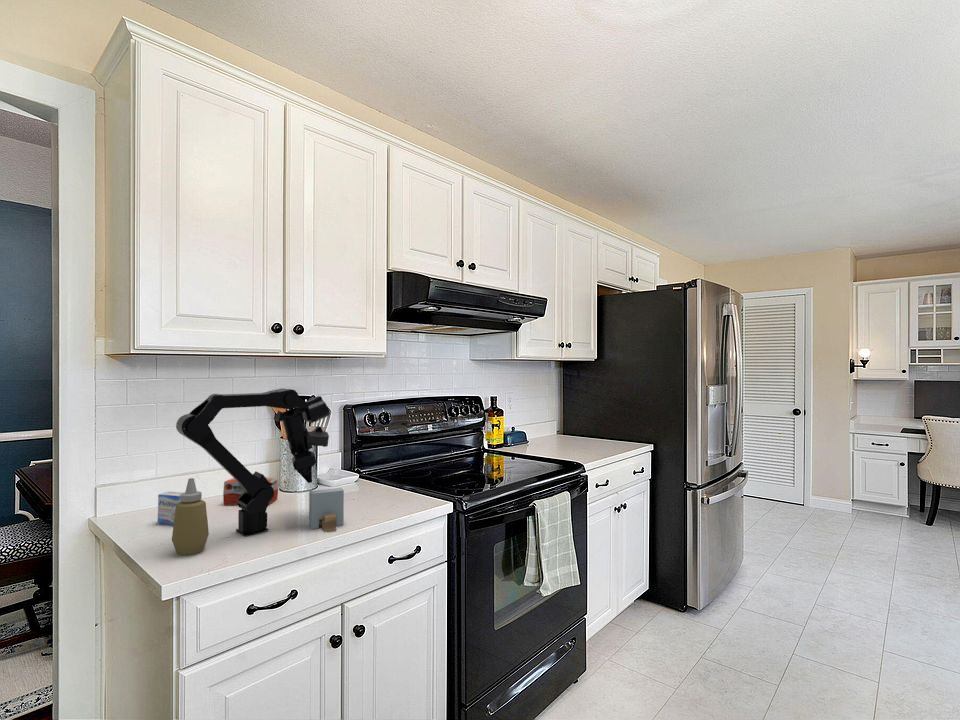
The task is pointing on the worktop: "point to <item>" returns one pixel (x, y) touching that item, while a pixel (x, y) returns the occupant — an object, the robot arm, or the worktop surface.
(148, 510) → the worktop surface
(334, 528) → the tan stepped bar
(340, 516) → the grey slotted plate
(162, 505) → the medicine box
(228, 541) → the worktop surface
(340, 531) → the worktop surface
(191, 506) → the squeeze bottle
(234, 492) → the medicine box
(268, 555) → the worktop surface
